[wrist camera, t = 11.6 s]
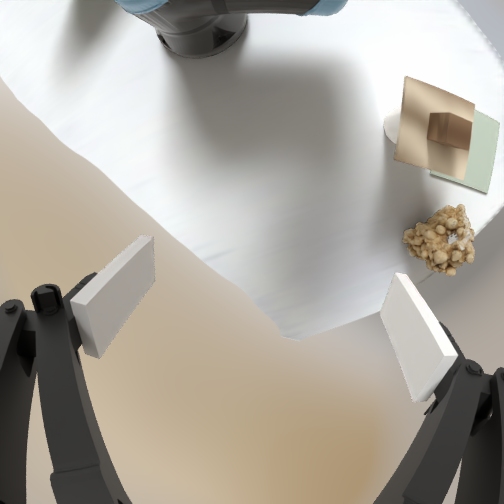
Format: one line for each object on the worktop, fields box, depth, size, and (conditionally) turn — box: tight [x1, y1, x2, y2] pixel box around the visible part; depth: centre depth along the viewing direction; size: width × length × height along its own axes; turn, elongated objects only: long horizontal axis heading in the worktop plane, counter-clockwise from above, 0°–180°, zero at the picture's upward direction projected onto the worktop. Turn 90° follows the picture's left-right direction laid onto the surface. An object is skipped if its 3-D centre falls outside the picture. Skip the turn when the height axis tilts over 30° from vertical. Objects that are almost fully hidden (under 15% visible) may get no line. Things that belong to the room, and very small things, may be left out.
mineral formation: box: [402, 204, 475, 276], centre depth 40 cm, size 8×13×15 cm, turn 135°
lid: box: [394, 76, 475, 181], centre depth 26 cm, size 11×11×6 cm
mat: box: [430, 109, 500, 193], centre depth 40 cm, size 15×15×1 cm
